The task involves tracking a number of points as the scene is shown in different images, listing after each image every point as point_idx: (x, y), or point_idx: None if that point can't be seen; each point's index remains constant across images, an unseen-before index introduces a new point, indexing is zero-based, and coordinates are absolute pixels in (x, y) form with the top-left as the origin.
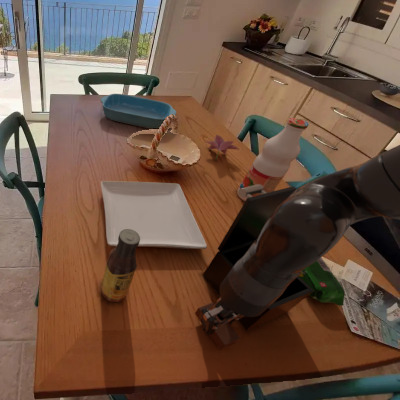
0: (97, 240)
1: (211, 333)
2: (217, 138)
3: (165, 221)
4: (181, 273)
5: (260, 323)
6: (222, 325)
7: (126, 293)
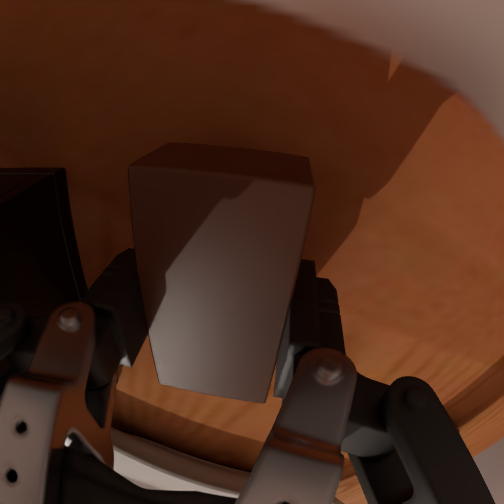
0: (338, 487)
1: (304, 277)
2: None
3: (150, 468)
4: (189, 413)
5: (5, 171)
6: (339, 469)
7: None
